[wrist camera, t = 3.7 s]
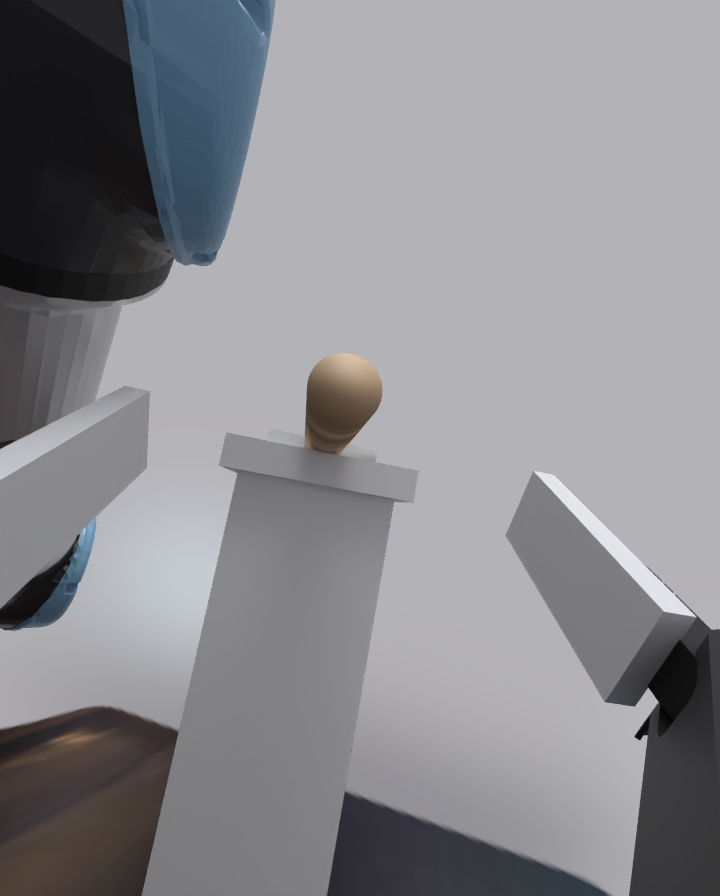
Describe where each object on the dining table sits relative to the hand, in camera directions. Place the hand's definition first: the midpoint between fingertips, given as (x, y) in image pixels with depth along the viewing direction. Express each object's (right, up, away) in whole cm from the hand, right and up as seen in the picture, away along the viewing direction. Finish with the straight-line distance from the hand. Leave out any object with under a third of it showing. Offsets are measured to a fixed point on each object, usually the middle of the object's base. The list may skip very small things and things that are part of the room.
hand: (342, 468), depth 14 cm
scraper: (-2, 0, +13) cm, 14 cm away
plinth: (-8, -30, +14) cm, 34 cm away
